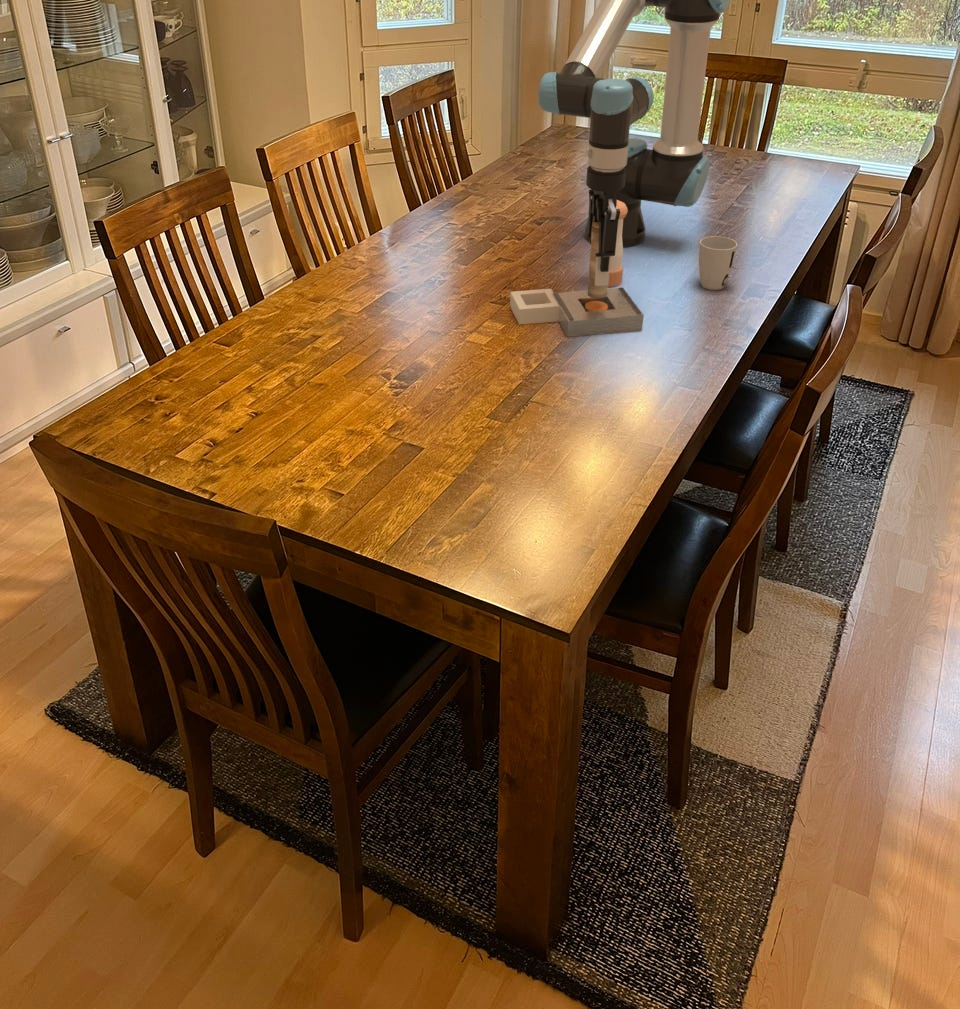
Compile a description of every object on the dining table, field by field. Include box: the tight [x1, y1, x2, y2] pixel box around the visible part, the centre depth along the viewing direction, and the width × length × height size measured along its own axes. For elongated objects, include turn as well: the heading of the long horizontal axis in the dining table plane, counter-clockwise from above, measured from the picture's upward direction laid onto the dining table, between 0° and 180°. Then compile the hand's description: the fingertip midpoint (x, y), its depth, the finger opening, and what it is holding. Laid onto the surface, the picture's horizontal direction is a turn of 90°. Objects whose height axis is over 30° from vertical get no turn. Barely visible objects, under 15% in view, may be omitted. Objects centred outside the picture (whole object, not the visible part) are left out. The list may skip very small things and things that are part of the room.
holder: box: [509, 288, 560, 326], centre depth 213 cm, size 9×9×4 cm
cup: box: [698, 235, 738, 291], centre depth 223 cm, size 8×8×10 cm
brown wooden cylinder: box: [587, 222, 608, 298], centre depth 204 cm, size 4×4×15 cm
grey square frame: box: [552, 287, 645, 338], centre depth 211 cm, size 14×16×4 cm
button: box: [585, 301, 608, 312], centre depth 210 cm, size 5×5×1 cm
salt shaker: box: [607, 200, 628, 288], centre depth 222 cm, size 7×7×19 cm
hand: (598, 280), depth 206 cm, fingers closed on brown wooden cylinder, 4 cm apart
